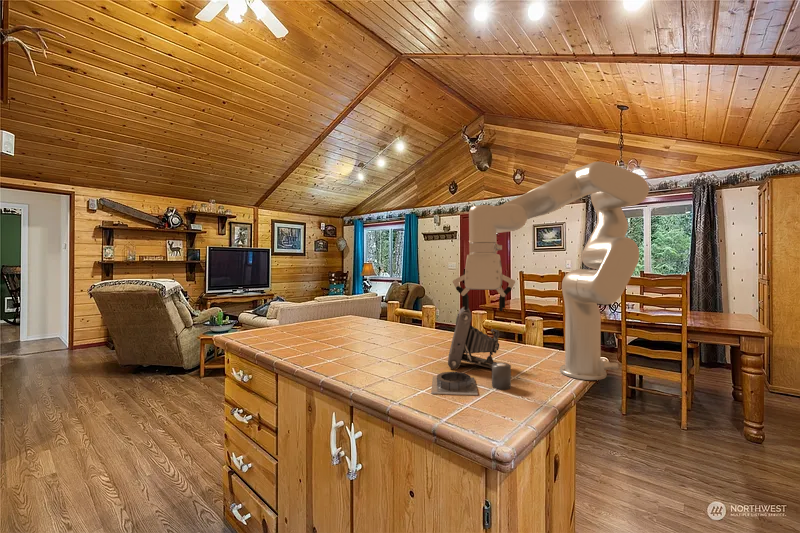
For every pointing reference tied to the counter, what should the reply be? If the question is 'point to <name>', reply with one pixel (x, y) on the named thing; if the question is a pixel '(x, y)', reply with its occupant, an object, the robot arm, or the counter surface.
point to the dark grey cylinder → (501, 376)
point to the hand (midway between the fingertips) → (483, 309)
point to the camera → (471, 343)
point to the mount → (453, 384)
